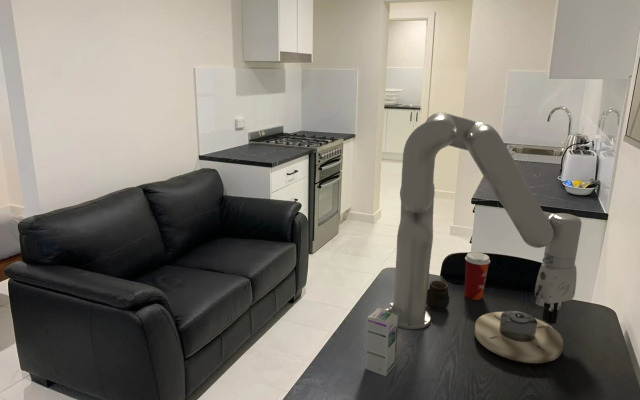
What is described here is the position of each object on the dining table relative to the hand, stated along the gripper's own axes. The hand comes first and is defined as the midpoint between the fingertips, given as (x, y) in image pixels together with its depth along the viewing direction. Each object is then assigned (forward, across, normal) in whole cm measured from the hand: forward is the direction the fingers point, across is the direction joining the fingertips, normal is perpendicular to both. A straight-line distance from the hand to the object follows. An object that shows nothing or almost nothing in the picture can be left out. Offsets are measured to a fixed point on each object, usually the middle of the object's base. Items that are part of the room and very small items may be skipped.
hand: (548, 321), depth 132 cm
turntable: (+3, -11, 0) cm, 11 cm away
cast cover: (+1, -11, 0) cm, 11 cm away
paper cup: (+5, -4, +27) cm, 28 cm away
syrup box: (+5, -51, +3) cm, 51 cm away
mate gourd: (+5, -20, +24) cm, 31 cm away
